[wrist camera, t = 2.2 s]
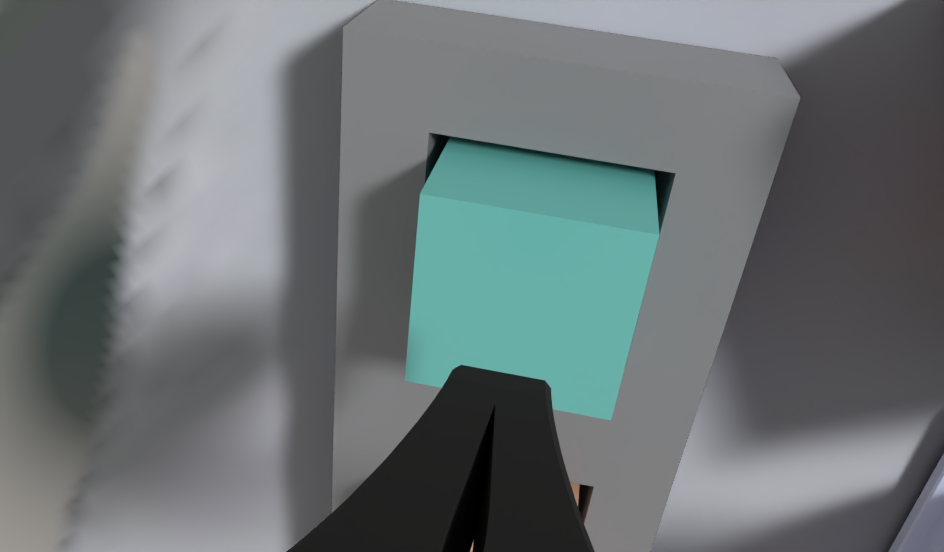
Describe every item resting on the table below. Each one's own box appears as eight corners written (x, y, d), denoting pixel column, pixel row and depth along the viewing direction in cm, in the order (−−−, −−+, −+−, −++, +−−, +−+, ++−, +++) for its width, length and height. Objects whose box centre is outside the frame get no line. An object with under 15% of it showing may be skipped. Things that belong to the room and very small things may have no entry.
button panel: (568, 735, 28) (563, 811, 26) (348, 685, 29) (325, 755, 27) (777, 58, 16) (800, 97, 14) (379, -2, 16) (343, 27, 14)
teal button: (613, 319, 18) (611, 420, 15) (440, 288, 18) (404, 380, 15) (652, 155, 16) (659, 234, 13) (457, 123, 16) (419, 193, 13)
